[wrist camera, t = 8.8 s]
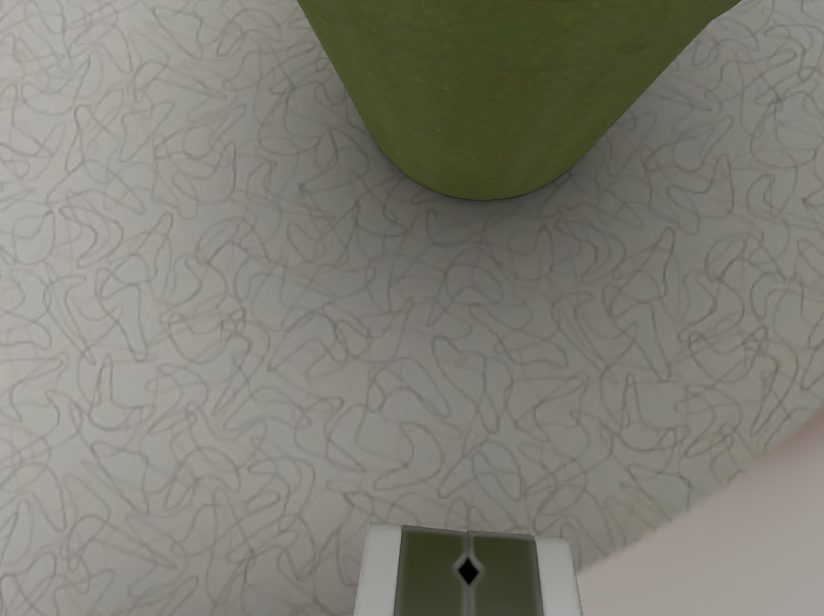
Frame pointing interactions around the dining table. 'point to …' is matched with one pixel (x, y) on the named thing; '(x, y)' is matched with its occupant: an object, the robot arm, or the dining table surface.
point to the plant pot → (499, 79)
